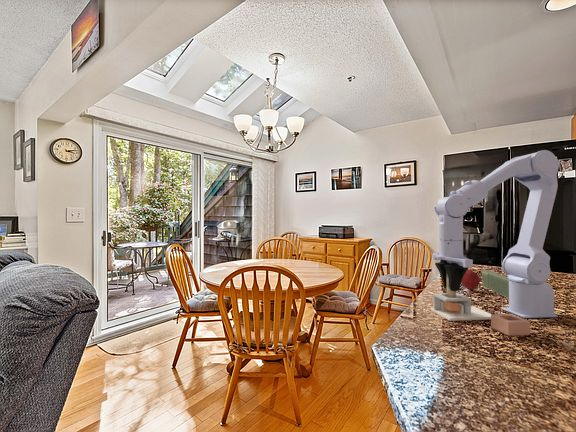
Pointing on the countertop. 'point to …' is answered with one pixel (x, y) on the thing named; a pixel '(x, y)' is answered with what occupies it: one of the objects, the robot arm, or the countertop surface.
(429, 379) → the countertop surface
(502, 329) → the stylus holder
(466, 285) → the onion
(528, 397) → the countertop surface
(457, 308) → the button
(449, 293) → the stylus
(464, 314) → the square socket plate
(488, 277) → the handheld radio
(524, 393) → the countertop surface
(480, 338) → the countertop surface
